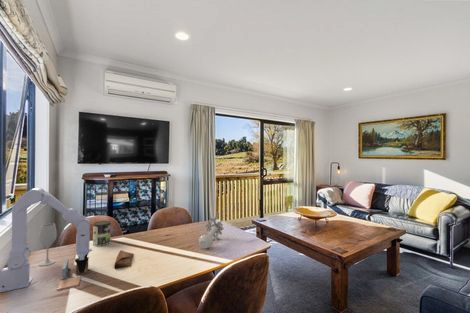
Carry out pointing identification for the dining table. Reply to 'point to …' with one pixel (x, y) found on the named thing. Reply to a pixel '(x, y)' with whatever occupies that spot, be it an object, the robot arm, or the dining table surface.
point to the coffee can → (101, 233)
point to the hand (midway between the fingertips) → (82, 268)
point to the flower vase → (211, 234)
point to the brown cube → (82, 272)
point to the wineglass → (47, 239)
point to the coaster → (68, 283)
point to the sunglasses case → (123, 260)
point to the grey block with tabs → (65, 270)
